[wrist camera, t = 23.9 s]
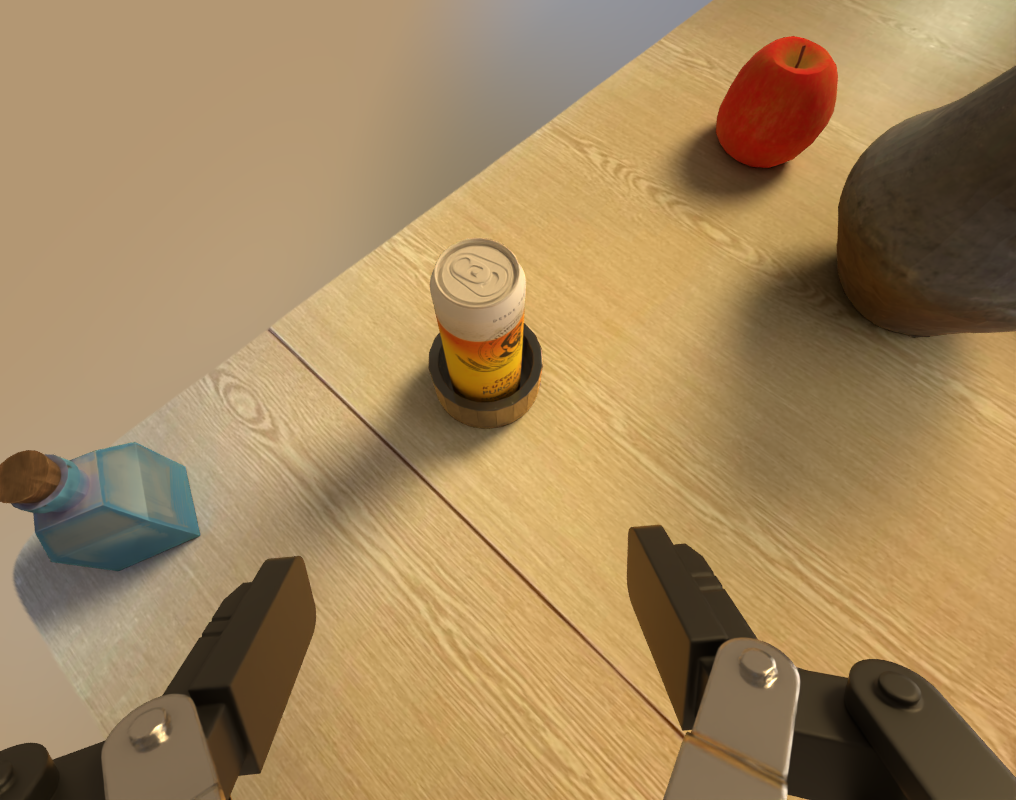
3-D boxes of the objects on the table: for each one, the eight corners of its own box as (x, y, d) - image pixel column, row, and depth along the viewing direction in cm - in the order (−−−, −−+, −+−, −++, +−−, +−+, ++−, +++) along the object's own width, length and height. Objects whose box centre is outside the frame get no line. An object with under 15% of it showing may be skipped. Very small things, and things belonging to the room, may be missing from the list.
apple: (822, 147, 57) (887, 50, 48) (764, 193, 54) (821, 100, 45) (746, 100, 61) (792, 0, 51) (688, 141, 58) (725, 43, 48)
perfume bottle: (107, 498, 41) (-41, 451, 30) (185, 466, 42) (70, 410, 31) (118, 571, 38) (-38, 549, 27) (200, 535, 39) (82, 501, 28)
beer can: (494, 424, 43) (489, 329, 29) (437, 388, 44) (406, 281, 30) (533, 371, 45) (545, 260, 31) (477, 339, 46) (465, 218, 32)
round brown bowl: (500, 449, 42) (500, 432, 39) (413, 392, 45) (405, 371, 41) (559, 367, 46) (563, 345, 42) (475, 318, 48) (473, 293, 44)
